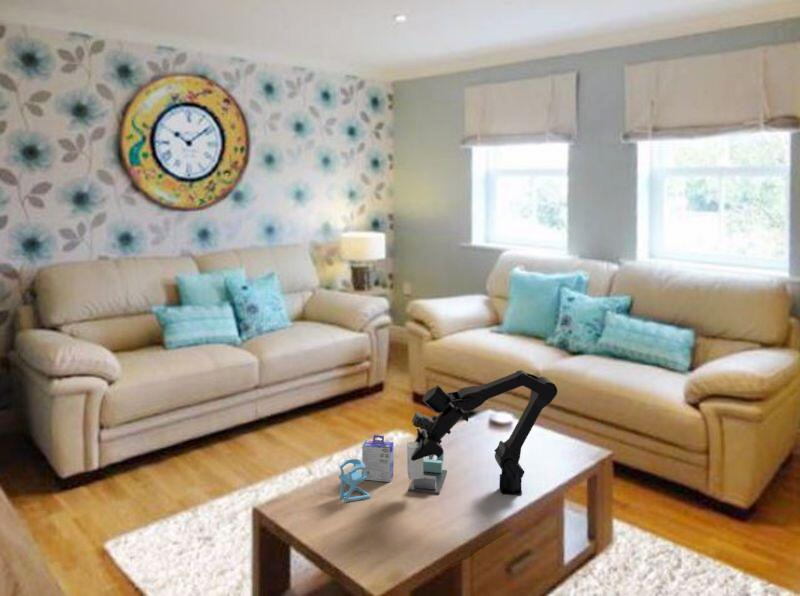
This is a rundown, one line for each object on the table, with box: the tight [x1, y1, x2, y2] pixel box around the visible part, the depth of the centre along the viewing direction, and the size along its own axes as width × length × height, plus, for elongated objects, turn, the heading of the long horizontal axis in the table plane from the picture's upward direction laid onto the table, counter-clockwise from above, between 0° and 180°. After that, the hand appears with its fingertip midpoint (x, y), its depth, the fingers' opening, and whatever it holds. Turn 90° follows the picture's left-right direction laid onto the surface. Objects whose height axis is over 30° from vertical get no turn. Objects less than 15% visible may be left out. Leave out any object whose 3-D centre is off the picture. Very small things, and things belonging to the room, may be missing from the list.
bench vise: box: [408, 469, 448, 495], centre depth 216 cm, size 16×10×5 cm, turn 167°
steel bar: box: [406, 441, 424, 481], centre depth 205 cm, size 4×4×10 cm
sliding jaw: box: [423, 449, 445, 473], centre depth 226 cm, size 11×7×4 cm, turn 167°
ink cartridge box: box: [361, 434, 395, 483], centre depth 218 cm, size 10×6×14 cm, turn 79°
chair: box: [338, 458, 371, 503], centre depth 206 cm, size 8×8×12 cm
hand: (410, 456), depth 204 cm, fingers closed on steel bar, 4 cm apart
